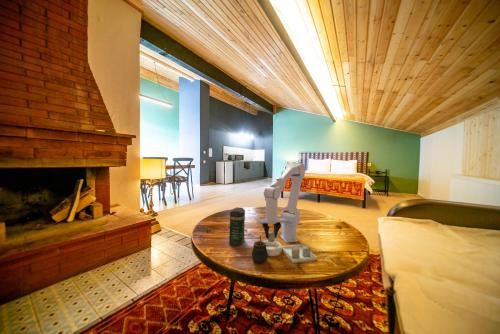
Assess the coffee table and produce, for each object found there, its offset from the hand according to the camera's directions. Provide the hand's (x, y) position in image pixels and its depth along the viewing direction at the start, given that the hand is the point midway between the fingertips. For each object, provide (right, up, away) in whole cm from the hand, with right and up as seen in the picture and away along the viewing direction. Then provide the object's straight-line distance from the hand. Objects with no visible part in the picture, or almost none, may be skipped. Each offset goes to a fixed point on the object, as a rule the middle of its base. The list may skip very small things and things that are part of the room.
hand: (271, 237), depth 93 cm
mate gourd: (-6, -7, -9) cm, 13 cm away
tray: (+13, -7, -3) cm, 15 cm away
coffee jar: (-18, -6, +10) cm, 21 cm away
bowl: (0, -7, 0) cm, 7 cm away
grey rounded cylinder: (0, -1, 0) cm, 1 cm away
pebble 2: (+16, -7, -6) cm, 18 cm away
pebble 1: (+11, -7, -7) cm, 14 cm away
